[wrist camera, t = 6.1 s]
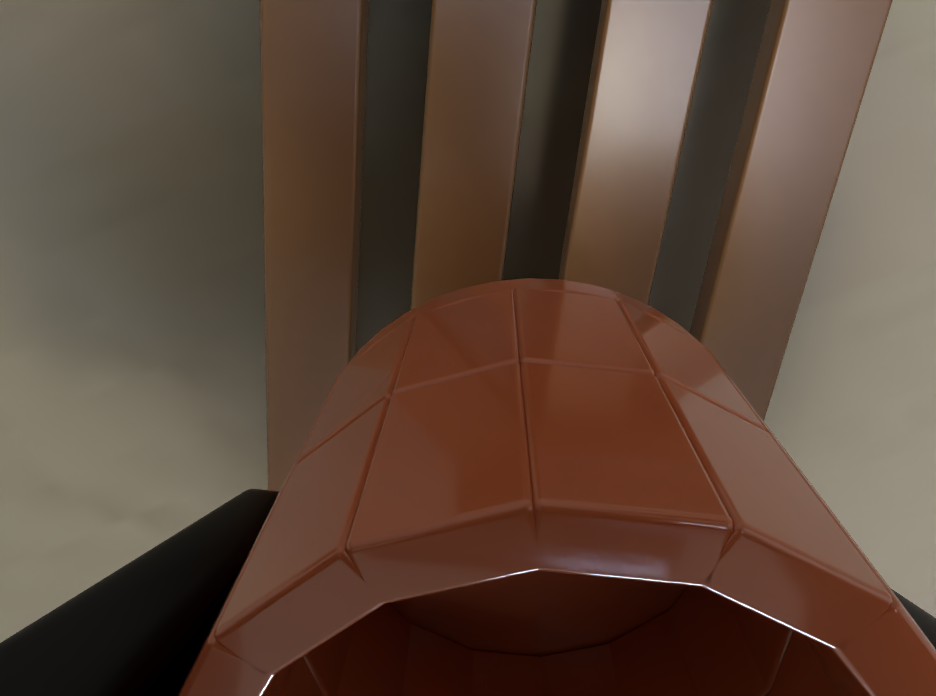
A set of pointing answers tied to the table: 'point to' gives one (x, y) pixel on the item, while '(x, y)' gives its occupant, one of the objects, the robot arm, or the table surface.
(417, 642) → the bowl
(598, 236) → the rack
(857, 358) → the table surface
